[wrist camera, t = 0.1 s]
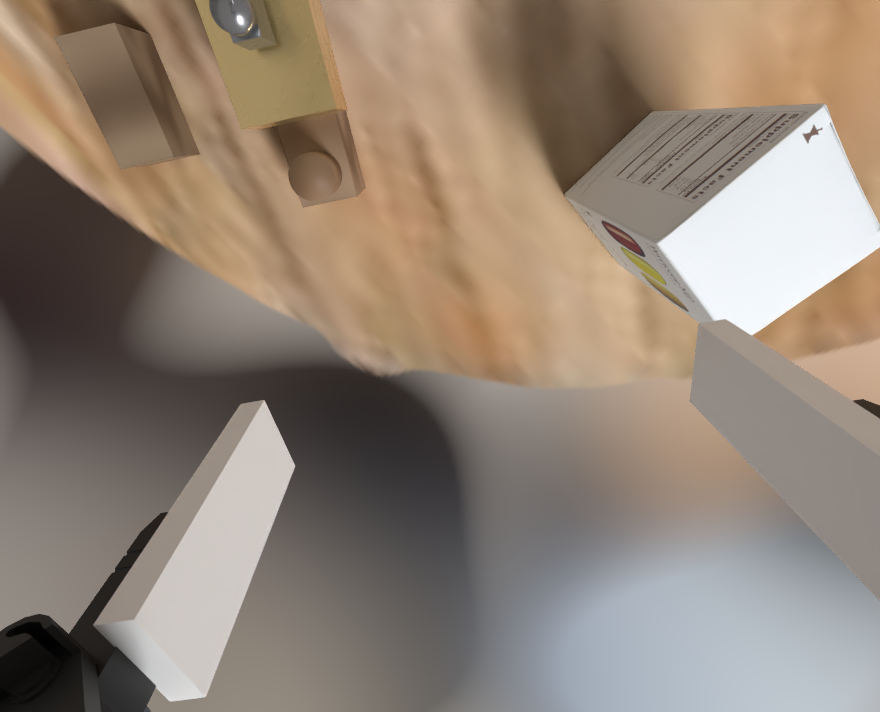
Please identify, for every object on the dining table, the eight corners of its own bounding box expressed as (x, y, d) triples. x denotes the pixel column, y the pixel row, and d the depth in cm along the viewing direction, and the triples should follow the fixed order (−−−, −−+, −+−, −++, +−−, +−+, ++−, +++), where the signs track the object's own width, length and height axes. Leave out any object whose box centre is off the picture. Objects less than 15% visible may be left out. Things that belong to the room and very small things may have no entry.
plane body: (202, -176, 26) (100, -313, 18) (268, -194, 26) (194, -341, 18) (317, 197, 36) (286, 218, 28) (365, 187, 36) (347, 206, 28)
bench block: (96, 47, 31) (54, 37, 28) (150, 34, 31) (114, 22, 27) (151, 164, 35) (120, 169, 31) (199, 154, 35) (174, 157, 31)
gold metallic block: (213, -19, 26) (179, -42, 22) (308, -42, 25) (289, -70, 22) (263, 128, 30) (241, 129, 26) (347, 110, 29) (336, 108, 26)
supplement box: (560, 194, 37) (649, 240, 22) (652, 107, 34) (827, 92, 19) (621, 269, 40) (735, 353, 25) (710, 196, 37) (897, 242, 22)
